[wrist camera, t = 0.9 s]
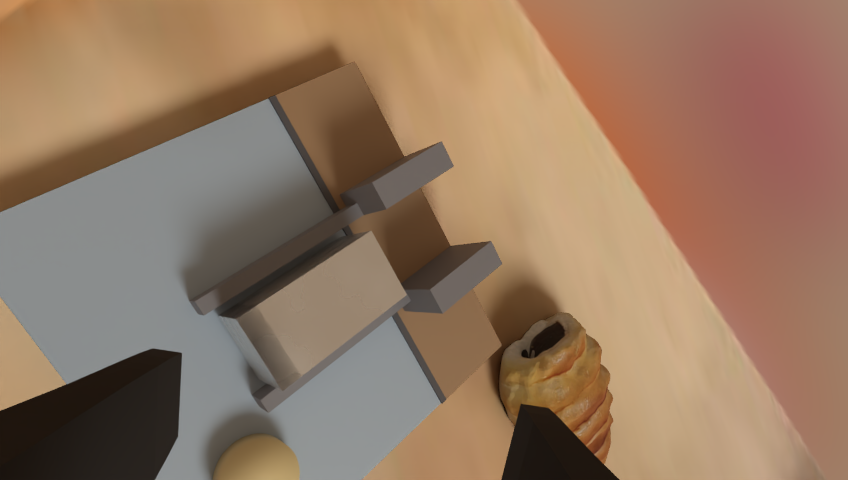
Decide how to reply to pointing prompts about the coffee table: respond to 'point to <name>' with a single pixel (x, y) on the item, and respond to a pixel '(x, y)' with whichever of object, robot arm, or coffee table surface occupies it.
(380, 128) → the door board
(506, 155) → the coffee table surface
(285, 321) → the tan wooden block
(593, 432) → the pastry
